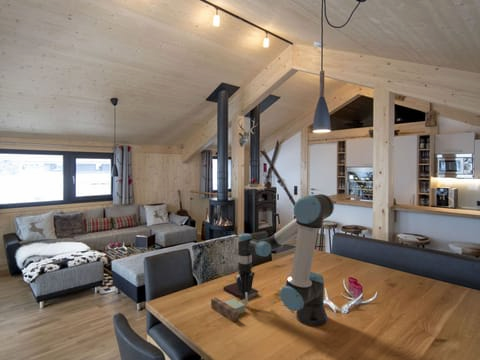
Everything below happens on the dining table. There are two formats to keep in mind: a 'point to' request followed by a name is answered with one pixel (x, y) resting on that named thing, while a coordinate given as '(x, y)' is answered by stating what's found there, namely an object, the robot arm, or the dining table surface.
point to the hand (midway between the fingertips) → (245, 304)
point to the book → (235, 292)
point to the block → (236, 305)
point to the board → (225, 309)
